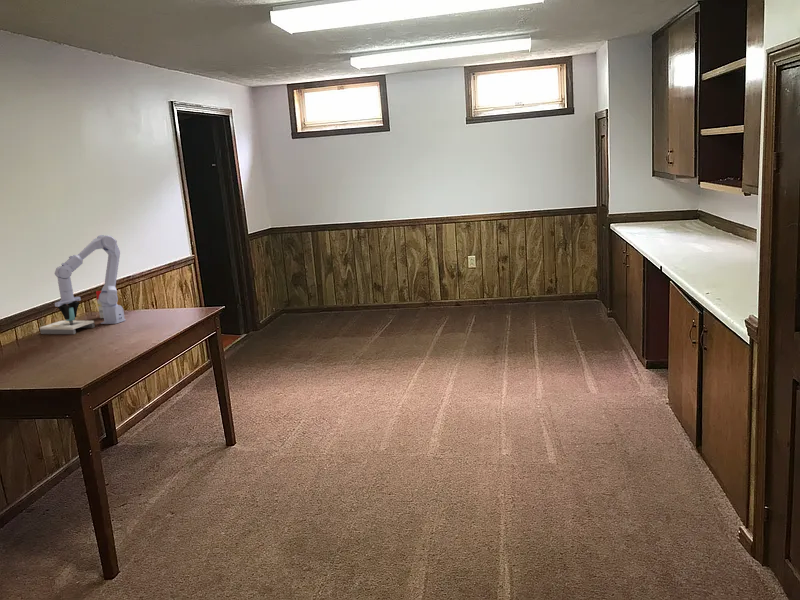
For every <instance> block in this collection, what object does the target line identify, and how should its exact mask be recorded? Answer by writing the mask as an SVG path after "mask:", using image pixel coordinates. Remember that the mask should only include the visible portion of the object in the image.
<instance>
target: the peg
mask: <svg viewBox="0 0 800 600" xmlns="http://www.w3.org/2000/svg"><path fill="white" fill-rule="evenodd" d="M65 321H69V325H75V324H73V321H76V317H75V315H74V309H73V307H69V319H65Z"/></svg>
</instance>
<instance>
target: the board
mask: <svg viewBox="0 0 800 600" xmlns="http://www.w3.org/2000/svg"><path fill="white" fill-rule="evenodd" d="M73 324H75V325H69V321H66V320H58V321H55V322H52V323H49V324H47V325H46V324H45V325H42V326H39V331H40V334H41V335H75V334H77V331H76V329H81V328H82V329H85V328H86V329H88V328H89V329H91V328H92V329H93V328H95V320H73Z"/></svg>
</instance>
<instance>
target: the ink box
mask: <svg viewBox="0 0 800 600" xmlns="http://www.w3.org/2000/svg"><path fill="white" fill-rule="evenodd" d="M101 291H102V290H96V291H95V294H96V301H97V309H98V313H99V319H104V316H103V310H102V303H101V302H100V300H99V295H100V293H101Z"/></svg>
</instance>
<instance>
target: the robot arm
mask: <svg viewBox="0 0 800 600" xmlns="http://www.w3.org/2000/svg"><path fill="white" fill-rule="evenodd" d="M117 242H118V241H117V240H116V238H114V237H113V236H112V235H107V234H106V235H104V234H100V235H98V236H96V237H95V238H93V239H92V241H91V242H90V243H88V244H87V245H86V247H84V248H83V249H82V250H81V251H80V252H79V253H78V254H72V255H69V256H68V259H67V260H65V262H62V263H61V265H60V266H57V267H55V271H54V276H56V278H57V283H58V291H59V295H60V300H58V301H56V302H54V307H55V308H56V307H57V309H58V310H59V311H60V312H61V313H62V316H63V317H64V320H66V319H69V307H73V309H74V315H75V318H76V317H78V316H77V315H78V309H79V305H80V301H82V299H81V296H74V290H73V285H72V279H71V276H72V274H73V273H74V271H76V270H77V269H78V268H79V267H80V266H82V265H83V264H84V263H83V261H84V259H86V258H87V257H88V256H90V255H91V254H93V252H95V251H96V250H101V249H102V250H103V251H104V252H106V254H107V256H108V257H107V264H106V269H105V270H106V271H105V279H104V284H103V287H102V288H101V290H100V291H101V293H100V295H99V300H100V302H101V303H102V310H103V316H104V318H103V321H102V322H100V324H101V325H103V324H104V325H109V324H110V325H116V324H119V323H122V322H125V321H126V320H127V319H125V318H126V317H125V312H124V308H123V305H120V304H118V300H119V297H118V290H117V287H116V286H117V278H118V272H119V271H118V270H119V263H120V257H121V256H120V255H121V250H120V248H119V245H118V243H117Z"/></svg>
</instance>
